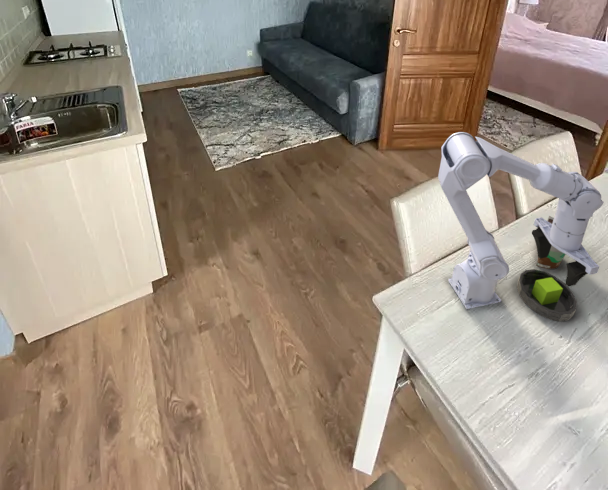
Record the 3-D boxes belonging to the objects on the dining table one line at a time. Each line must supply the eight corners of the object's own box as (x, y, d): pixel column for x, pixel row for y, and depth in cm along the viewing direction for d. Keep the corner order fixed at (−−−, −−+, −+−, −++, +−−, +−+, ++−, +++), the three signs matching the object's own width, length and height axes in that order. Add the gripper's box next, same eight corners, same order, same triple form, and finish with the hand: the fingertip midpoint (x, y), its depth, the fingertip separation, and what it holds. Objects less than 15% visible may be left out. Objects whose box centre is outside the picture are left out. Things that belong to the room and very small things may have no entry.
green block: (541, 305, 82) (547, 292, 81) (531, 293, 85) (536, 280, 84) (557, 301, 83) (563, 288, 82) (546, 289, 86) (551, 277, 84)
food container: (563, 283, 88) (575, 254, 85) (535, 270, 92) (545, 242, 88) (565, 251, 97) (576, 224, 94) (539, 241, 101) (549, 214, 97)
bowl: (571, 333, 77) (575, 324, 76) (512, 302, 84) (515, 293, 82) (574, 295, 85) (578, 287, 84) (520, 269, 92) (523, 261, 91)
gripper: (617, 247, 70) (600, 294, 75) (556, 200, 83) (544, 242, 88) (588, 254, 69) (572, 301, 74) (530, 205, 82) (520, 248, 87)
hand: (555, 270), depth 81 cm, fingers open, 7 cm apart
